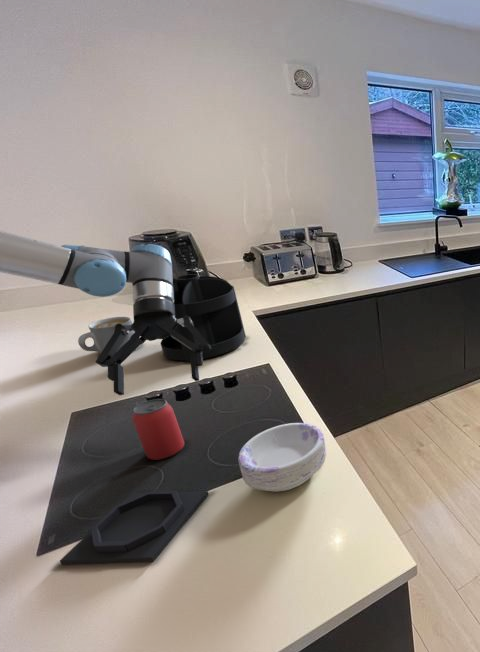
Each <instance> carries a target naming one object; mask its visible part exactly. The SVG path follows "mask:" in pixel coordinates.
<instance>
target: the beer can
mask: <svg viewBox="0 0 480 652" xmlns="http://www.w3.org/2000/svg"><path fill="white" fill-rule="evenodd" d="M132 423H133V426H134V428H135V430H136V432H137V435H138V438H139V440H140V442H141V445H142V449H143V450H144V453H145V455H146V457H147V459H149V460H153V461H158V460H164V459H168V458H170V457H173V456H175V455H176V454H178V453H179V452H181V451H182V449H183V448H184V447H185V439H184V437H183V434H182V432H181V428H180V425H179V423H178V420H177V417H176V414H175V411H174V409H173V407H172V406H171V405H170V403H169V402H168V401H167V400H166V399H165V398H154V399H149V400H146V401H144V402H141V403H139V404H138V405H136V406H134V407H133V409H132Z"/></svg>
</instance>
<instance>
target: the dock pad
mask: <svg viewBox="0 0 480 652" xmlns="http://www.w3.org/2000/svg"><path fill="white" fill-rule="evenodd" d="M208 496H209V491H208V490H201V491H199V490H198V491H197V490H195V491H193V490H191V491H177V490H150V491H147V492H131V493H130V494H129V495H127V497H126V498H124V500H123V501H121V503H119V504H117V505H115V506H113V507H112V508H111V509H110V510H109V511H108V512H107V513H106V514H105V515H104V516H102V517H101V518H100V520H99V521H97V522H96V523H95V524H94V525H93V526H92V527H91V529H90V532H89V533H87V534H86V535H85V536H84V537H83V538H82V539H81V540H80V541H79V542H78V543H77V544H76V545H74V547H72V549H70V550H69V551H68V552H67V553H66V554H65V555H64V556H63V557H62V558H61V559H60V560H59V562H60V564H61V565H62V566H68V565H71V566H72V565H96V564H123V563H126V564H127V563H153V562H155V561H156V559H157V558H158V557H159V556H160V554H162V553H163V551H164V550H165V548H166V547H167V546H168V545H169V543H170V542H171V541H172V540H173V539H174V538H175V537H176V536H177V534H178V533H179V531H181V529H182V528H183V527H184V526H185V524H186V523H187V522H188V521H189V520H190V519H191V517H192V516H193V515H194V514H195V512H196V511H197V510H198V508H199V507H200V506H201V505H202V504H203V503H204V501H205V500H206V499H207V498H208Z"/></svg>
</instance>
